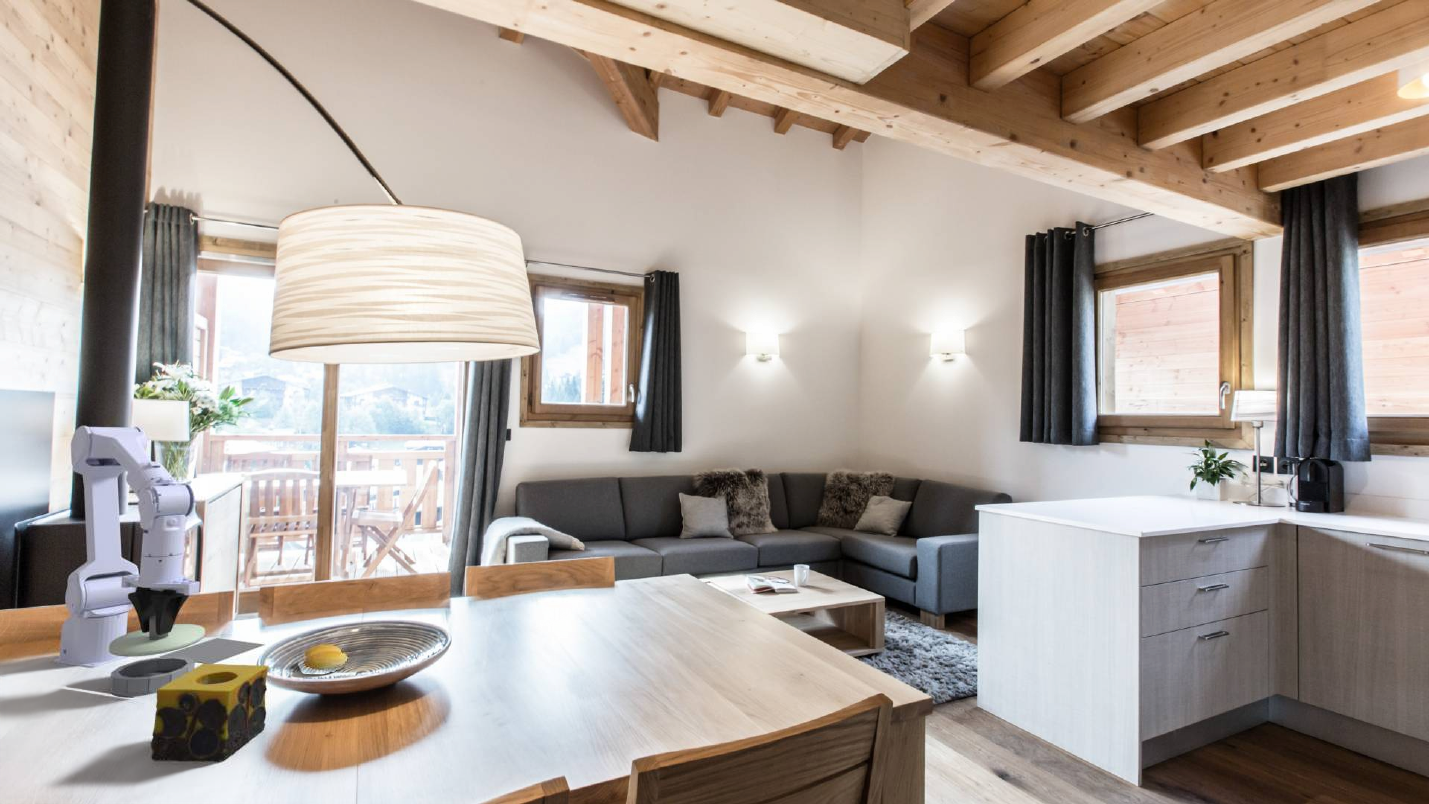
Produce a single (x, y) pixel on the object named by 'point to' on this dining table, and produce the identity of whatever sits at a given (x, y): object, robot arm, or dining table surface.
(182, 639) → the lid
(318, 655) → the bread roll
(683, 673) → the dining table surface
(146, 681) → the bowl
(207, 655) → the mat
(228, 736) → the yellow patterned cube
